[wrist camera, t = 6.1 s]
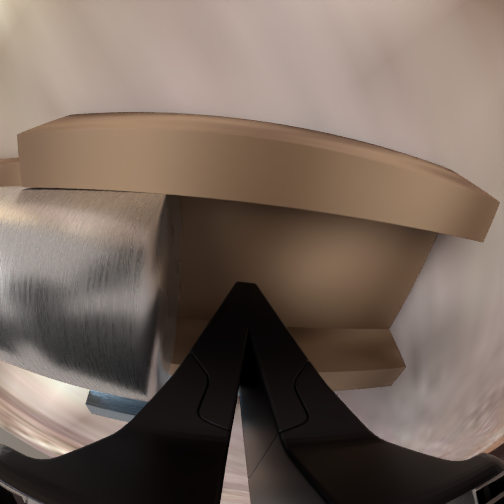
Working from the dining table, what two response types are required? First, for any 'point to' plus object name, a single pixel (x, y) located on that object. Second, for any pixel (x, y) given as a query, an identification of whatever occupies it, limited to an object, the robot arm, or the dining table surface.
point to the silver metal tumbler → (90, 286)
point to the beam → (274, 221)
